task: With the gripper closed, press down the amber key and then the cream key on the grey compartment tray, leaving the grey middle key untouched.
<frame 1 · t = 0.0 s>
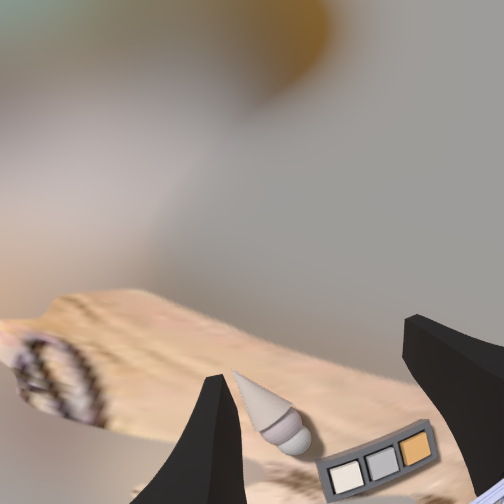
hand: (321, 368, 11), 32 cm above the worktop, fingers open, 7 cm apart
ice cream cone: (269, 412, 38), on the worktop
cream key: (346, 477, 29), point 3 cm above the worktop, slide at 0.0 cm
grey key: (382, 463, 30), point 3 cm above the worktop, slide at 0.0 cm
grey compartment tray: (375, 460, 33), on the worktop
amber key: (415, 448, 30), point 3 cm above the worktop, slide at 0.0 cm
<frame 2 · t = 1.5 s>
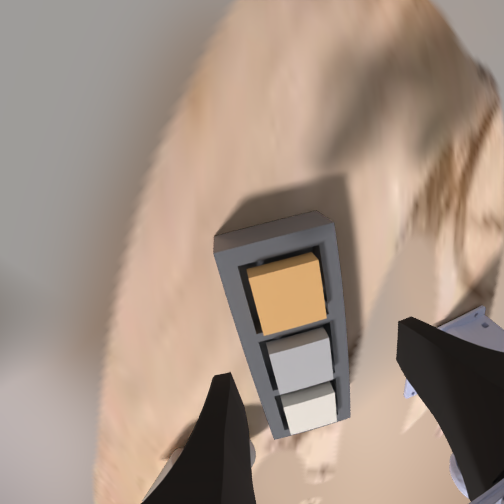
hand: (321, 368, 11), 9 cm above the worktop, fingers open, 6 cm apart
ice cream cone: (190, 451, 25), on the worktop
cream key: (309, 409, 20), point 3 cm above the worktop, slide at 0.0 cm
grey key: (301, 362, 18), point 3 cm above the worktop, slide at 0.0 cm
grey compartment tray: (290, 333, 21), on the worktop
amber key: (287, 294, 16), point 3 cm above the worktop, slide at 0.0 cm
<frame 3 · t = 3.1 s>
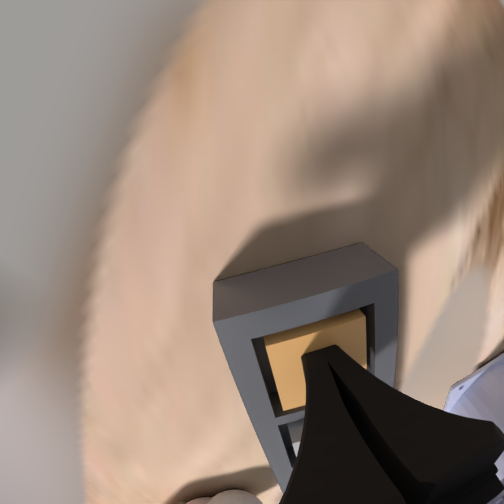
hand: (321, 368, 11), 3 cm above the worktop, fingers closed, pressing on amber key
ice cream cone: (190, 503, 19), on the worktop
grey key: (331, 441, 12), point 3 cm above the worktop, slide at 0.0 cm
grey compartment tray: (314, 396, 15), on the worktop
amber key: (317, 359, 11), point 2 cm above the worktop, slide at 0.8 cm, touching gripper
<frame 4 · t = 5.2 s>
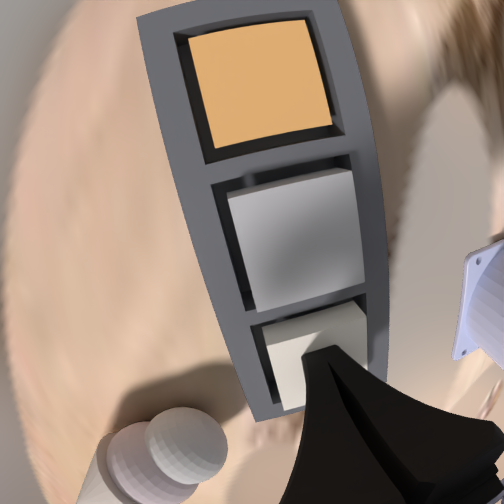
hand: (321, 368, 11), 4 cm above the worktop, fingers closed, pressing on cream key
ice cream cone: (138, 440, 17), on the worktop
cream key: (318, 359, 11), point 3 cm above the worktop, slide at 0.1 cm, touching gripper
grey key: (299, 238, 9), point 3 cm above the worktop, slide at 0.0 cm
grey compartment tray: (278, 214, 12), on the worktop
amber key: (259, 81, 8), point 2 cm above the worktop, slide at 0.8 cm
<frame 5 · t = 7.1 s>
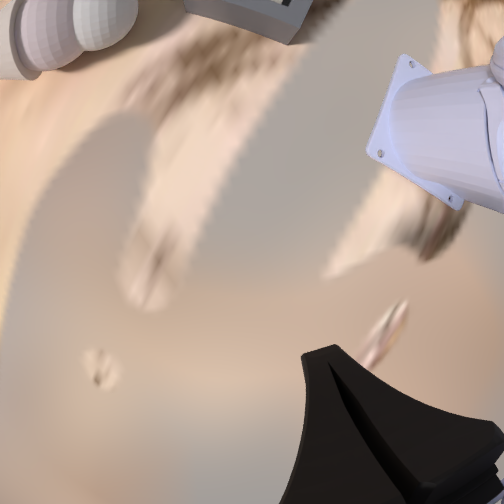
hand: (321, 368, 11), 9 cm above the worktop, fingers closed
ice cream cone: (43, 52, 13), on the worktop
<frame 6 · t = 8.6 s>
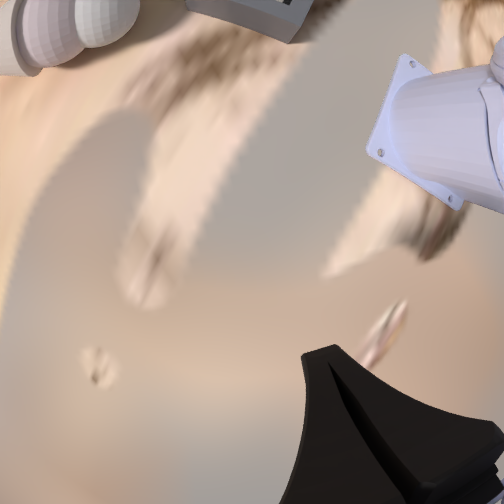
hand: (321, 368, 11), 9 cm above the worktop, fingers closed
ice cream cone: (44, 48, 13), on the worktop
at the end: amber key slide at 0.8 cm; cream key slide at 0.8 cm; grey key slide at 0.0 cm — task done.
